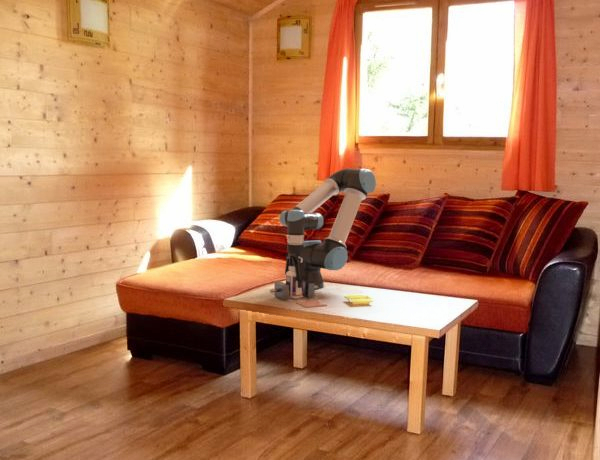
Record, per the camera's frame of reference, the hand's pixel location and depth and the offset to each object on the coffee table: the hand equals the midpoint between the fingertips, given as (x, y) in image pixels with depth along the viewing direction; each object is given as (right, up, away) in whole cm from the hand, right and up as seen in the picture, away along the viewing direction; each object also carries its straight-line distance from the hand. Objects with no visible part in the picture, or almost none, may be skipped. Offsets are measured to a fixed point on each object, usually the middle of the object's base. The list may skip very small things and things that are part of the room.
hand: (294, 292), depth 294 cm
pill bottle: (0, -2, 0) cm, 2 cm away
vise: (0, -2, 0) cm, 2 cm away
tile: (+8, -4, -13) cm, 15 cm away
